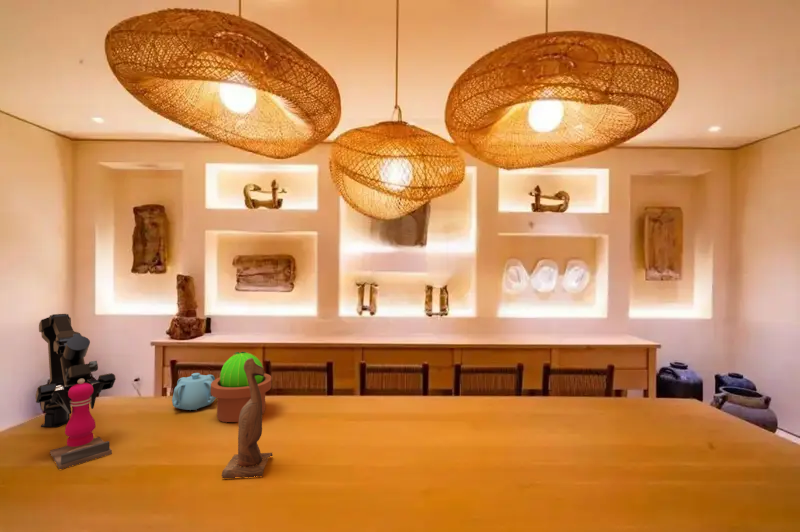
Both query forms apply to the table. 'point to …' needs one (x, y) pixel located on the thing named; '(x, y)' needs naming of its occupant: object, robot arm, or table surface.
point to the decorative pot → (193, 392)
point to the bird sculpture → (249, 431)
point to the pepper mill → (80, 415)
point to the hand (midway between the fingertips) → (81, 410)
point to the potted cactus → (236, 387)
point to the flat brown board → (80, 453)
